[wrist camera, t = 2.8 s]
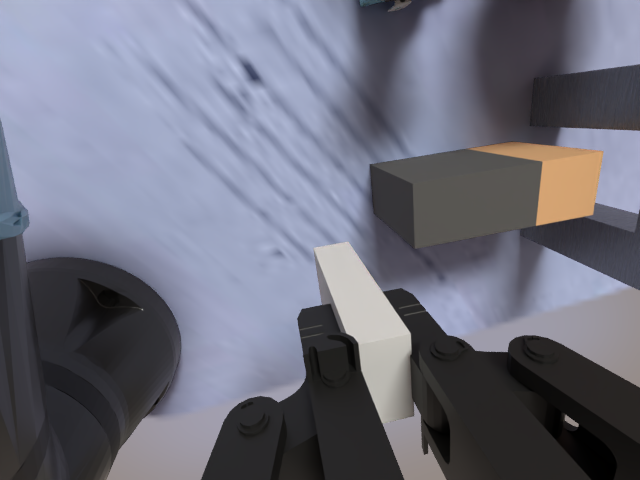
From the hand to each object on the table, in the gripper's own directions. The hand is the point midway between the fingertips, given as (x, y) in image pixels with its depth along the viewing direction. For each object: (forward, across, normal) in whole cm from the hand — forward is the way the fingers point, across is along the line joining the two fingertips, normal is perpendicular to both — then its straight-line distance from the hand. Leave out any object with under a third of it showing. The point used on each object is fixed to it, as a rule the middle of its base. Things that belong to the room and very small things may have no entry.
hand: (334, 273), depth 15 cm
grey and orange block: (+13, +12, 0) cm, 17 cm away
